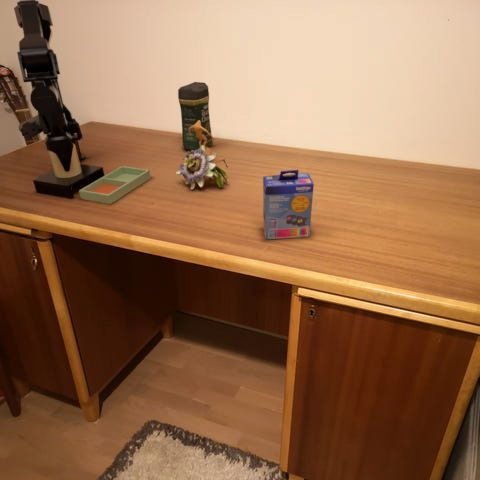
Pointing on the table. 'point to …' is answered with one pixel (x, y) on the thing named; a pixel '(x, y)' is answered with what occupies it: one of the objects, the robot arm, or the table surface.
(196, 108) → the coffee jar
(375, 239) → the table surface
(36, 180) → the flat black slab base
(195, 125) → the figurine
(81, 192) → the tray
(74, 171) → the cup
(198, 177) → the passion flower
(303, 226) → the ink cartridge box
